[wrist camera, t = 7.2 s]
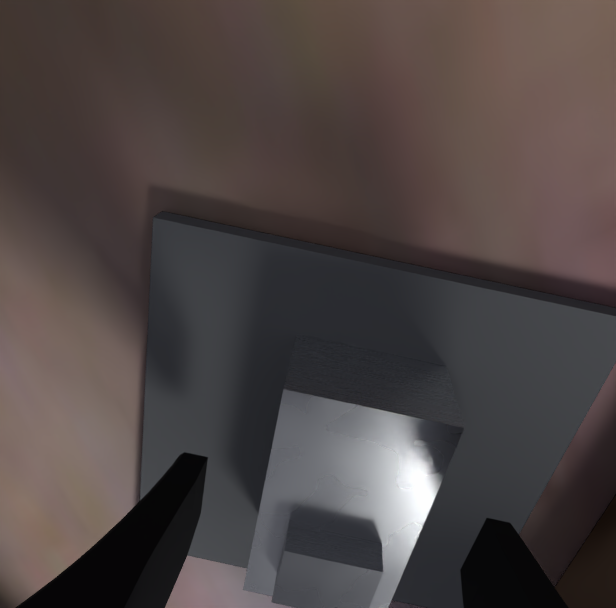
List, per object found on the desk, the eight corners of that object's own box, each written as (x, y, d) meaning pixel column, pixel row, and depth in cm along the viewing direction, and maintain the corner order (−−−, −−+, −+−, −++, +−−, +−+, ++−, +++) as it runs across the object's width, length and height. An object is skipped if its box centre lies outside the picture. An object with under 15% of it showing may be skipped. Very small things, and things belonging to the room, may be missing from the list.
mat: (468, 600, 17) (471, 617, 17) (144, 529, 17) (137, 544, 17) (626, 310, 12) (638, 321, 12) (162, 211, 12) (153, 217, 12)
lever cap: (379, 542, 16) (384, 651, 13) (259, 516, 16) (236, 618, 13) (446, 365, 13) (472, 454, 10) (296, 334, 13) (277, 412, 10)
